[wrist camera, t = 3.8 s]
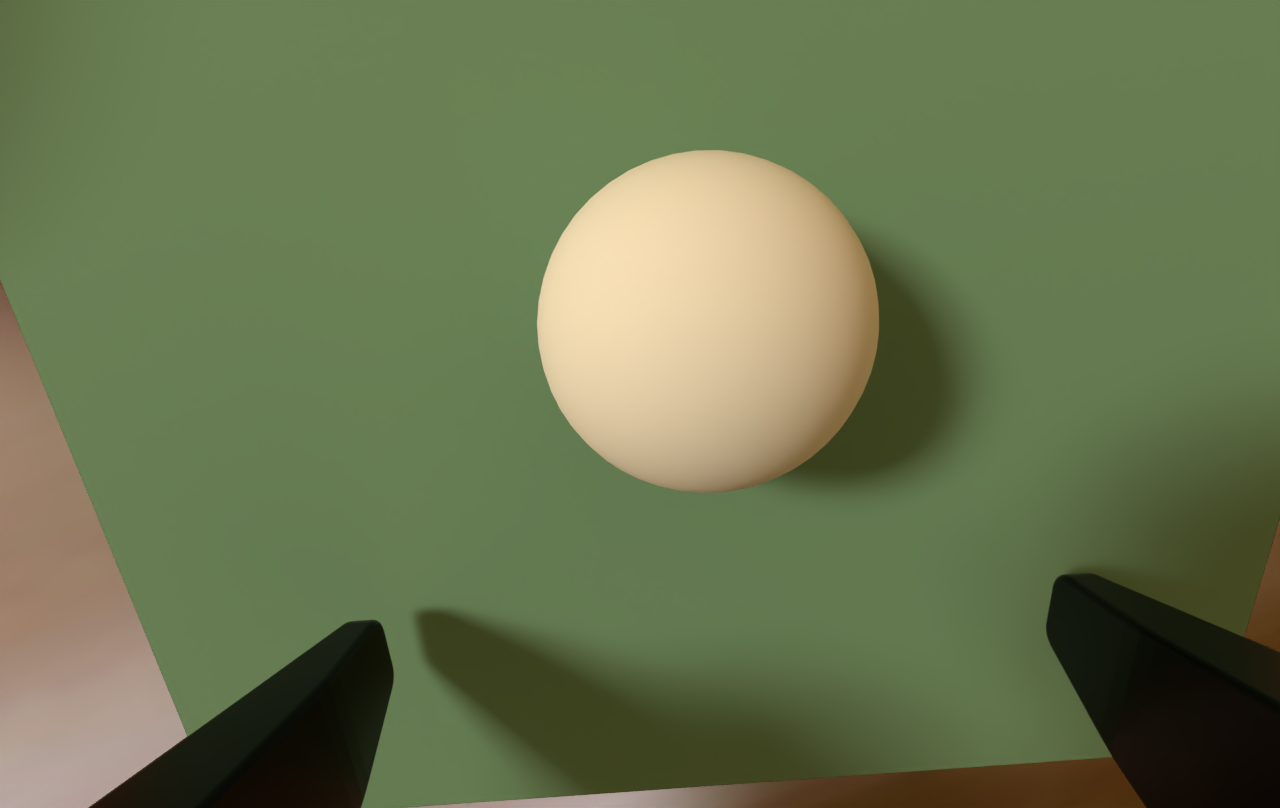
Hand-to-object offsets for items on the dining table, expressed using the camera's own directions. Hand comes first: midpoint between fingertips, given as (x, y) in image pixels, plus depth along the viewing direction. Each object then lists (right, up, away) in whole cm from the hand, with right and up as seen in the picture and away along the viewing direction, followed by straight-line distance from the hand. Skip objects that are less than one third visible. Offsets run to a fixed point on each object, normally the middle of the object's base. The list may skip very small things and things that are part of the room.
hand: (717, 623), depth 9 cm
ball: (0, +4, -2) cm, 4 cm away
